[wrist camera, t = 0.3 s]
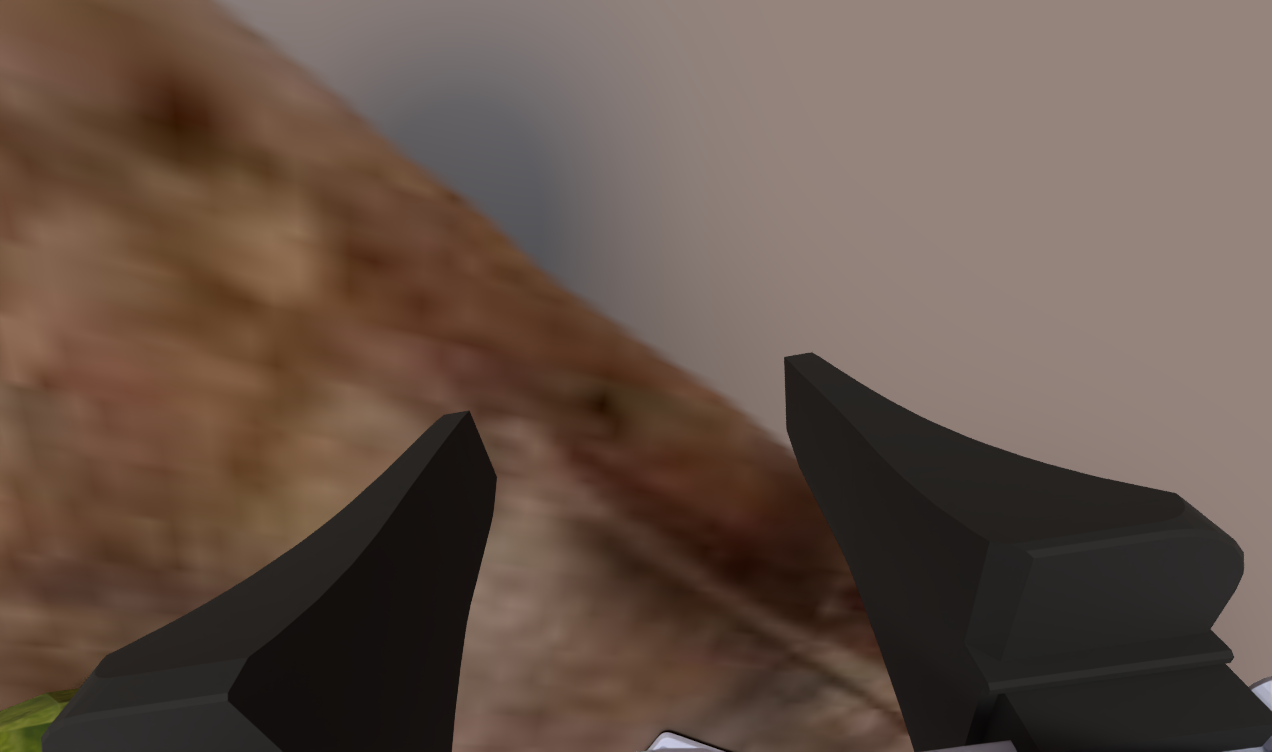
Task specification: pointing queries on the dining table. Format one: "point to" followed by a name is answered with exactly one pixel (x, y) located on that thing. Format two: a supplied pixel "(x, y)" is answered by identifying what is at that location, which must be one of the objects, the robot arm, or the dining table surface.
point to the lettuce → (31, 721)
